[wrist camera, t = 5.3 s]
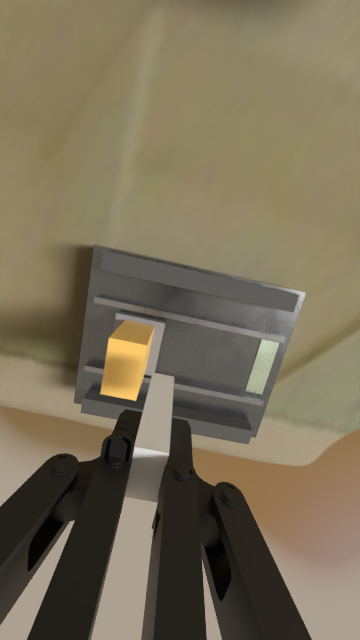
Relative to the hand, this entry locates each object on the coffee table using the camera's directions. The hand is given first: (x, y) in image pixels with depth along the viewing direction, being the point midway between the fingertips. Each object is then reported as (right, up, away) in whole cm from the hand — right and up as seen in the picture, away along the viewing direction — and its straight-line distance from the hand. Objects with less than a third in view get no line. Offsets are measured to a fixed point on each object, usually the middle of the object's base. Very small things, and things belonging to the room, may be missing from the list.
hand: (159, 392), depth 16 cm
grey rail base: (+2, +3, +14) cm, 14 cm away
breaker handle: (-3, +3, +9) cm, 10 cm away
